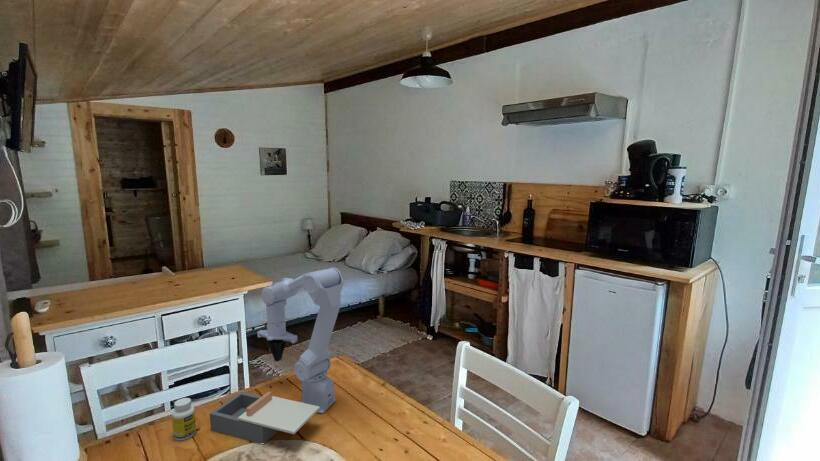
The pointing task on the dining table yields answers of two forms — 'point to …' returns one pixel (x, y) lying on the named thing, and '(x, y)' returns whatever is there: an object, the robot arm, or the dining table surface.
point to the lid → (278, 413)
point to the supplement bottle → (183, 419)
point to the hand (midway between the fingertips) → (278, 359)
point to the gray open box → (229, 424)
